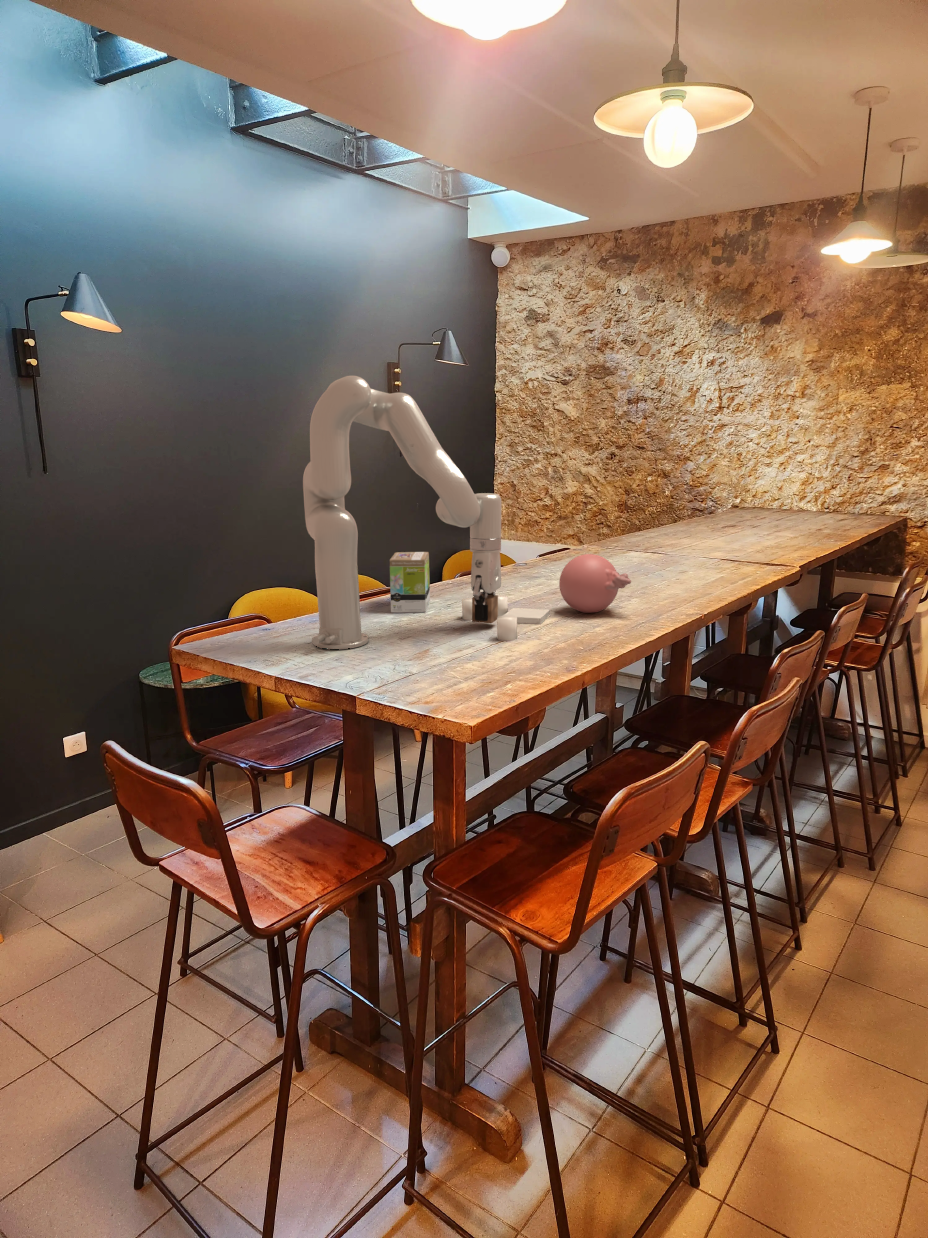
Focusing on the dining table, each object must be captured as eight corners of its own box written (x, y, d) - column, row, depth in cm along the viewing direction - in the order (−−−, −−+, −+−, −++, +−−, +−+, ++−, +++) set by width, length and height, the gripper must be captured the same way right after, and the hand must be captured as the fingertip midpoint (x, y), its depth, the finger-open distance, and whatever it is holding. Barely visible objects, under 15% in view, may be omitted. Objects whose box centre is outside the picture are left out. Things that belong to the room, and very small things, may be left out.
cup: (513, 641, 181) (513, 620, 180) (494, 640, 183) (494, 619, 182) (519, 636, 185) (519, 615, 184) (500, 635, 187) (500, 614, 186)
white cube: (476, 621, 202) (476, 601, 201) (459, 620, 203) (459, 601, 202) (482, 617, 206) (482, 598, 205) (465, 616, 208) (465, 597, 207)
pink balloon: (611, 624, 194) (612, 562, 191) (547, 613, 208) (547, 555, 204) (645, 613, 205) (646, 554, 201) (582, 603, 219) (582, 548, 215)
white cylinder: (504, 617, 204) (504, 599, 203) (488, 617, 206) (487, 598, 205) (510, 614, 209) (509, 595, 207) (493, 613, 210) (493, 594, 209)
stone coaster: (540, 624, 196) (540, 618, 196) (502, 622, 200) (501, 616, 200) (550, 615, 206) (550, 609, 205) (513, 613, 209) (513, 607, 209)
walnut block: (491, 623, 192) (491, 599, 191) (472, 621, 194) (472, 597, 193) (497, 619, 197) (497, 595, 195) (478, 617, 198) (478, 594, 197)
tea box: (427, 612, 213) (425, 558, 209) (390, 613, 213) (387, 559, 210) (430, 601, 227) (428, 550, 224) (396, 602, 228) (393, 551, 224)
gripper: (489, 550, 182) (488, 626, 186) (510, 541, 198) (509, 612, 202) (458, 548, 185) (458, 624, 189) (482, 540, 200) (481, 610, 204)
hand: (485, 617), depth 195 cm, fingers closed on walnut block, 5 cm apart
